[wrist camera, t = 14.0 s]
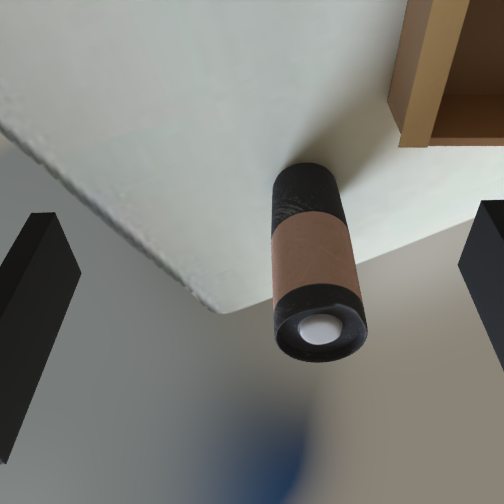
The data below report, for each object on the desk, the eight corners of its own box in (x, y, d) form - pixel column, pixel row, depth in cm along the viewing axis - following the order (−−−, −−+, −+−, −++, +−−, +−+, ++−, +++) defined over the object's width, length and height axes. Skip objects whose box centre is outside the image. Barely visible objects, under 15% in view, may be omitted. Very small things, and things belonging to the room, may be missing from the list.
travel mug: (280, 222, 55) (286, 369, 40) (261, 170, 50) (261, 317, 35) (344, 207, 53) (375, 355, 38) (331, 151, 48) (361, 298, 33)
